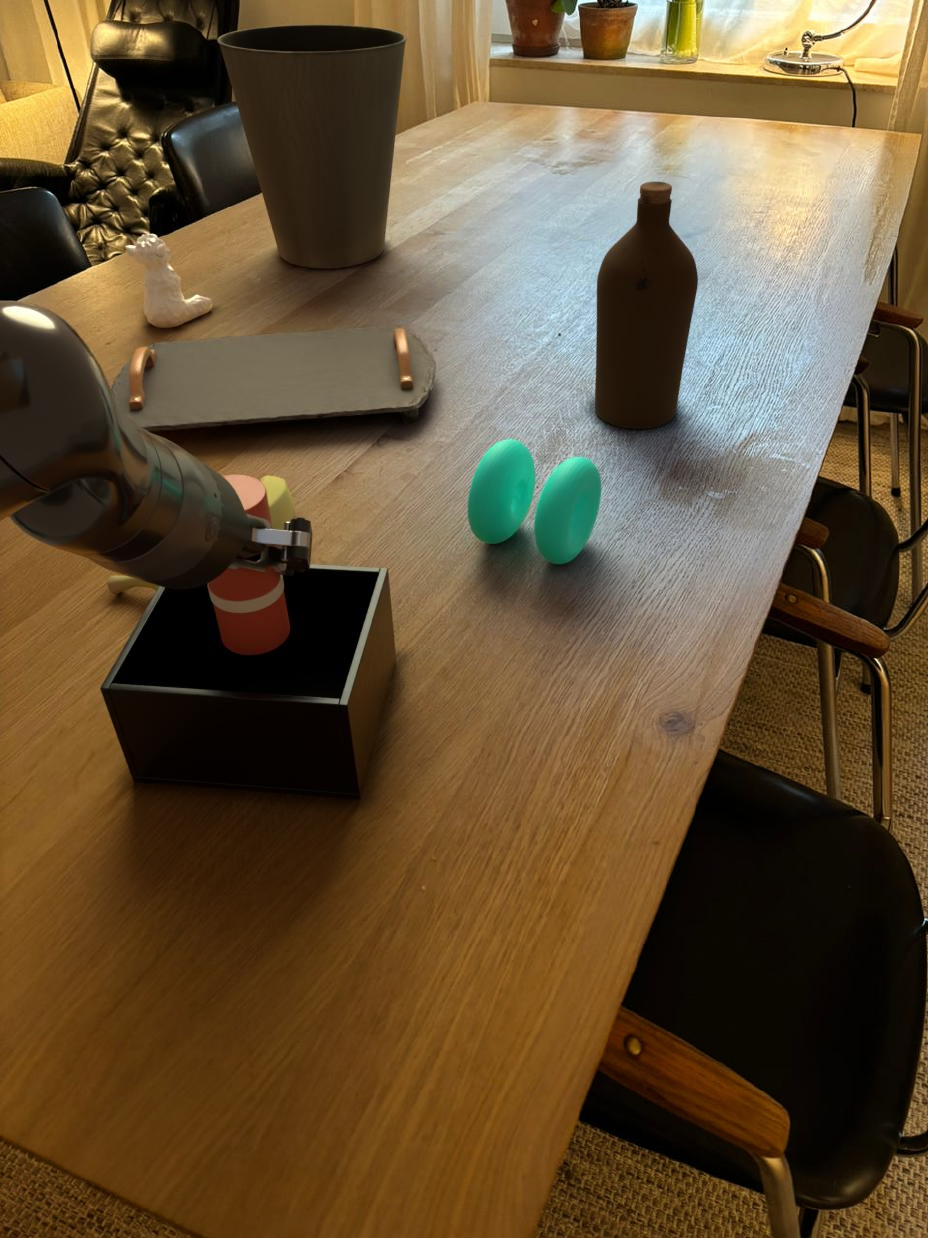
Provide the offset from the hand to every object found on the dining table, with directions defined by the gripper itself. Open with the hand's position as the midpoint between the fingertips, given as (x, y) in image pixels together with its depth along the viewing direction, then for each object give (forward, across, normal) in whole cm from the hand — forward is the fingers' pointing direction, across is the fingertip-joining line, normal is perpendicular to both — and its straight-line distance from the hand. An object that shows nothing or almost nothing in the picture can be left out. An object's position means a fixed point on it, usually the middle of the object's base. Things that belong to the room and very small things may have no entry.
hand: (251, 559), depth 71 cm
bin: (+9, 0, +11) cm, 14 cm away
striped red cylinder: (+2, 0, +5) cm, 6 cm away
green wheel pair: (+26, -19, -6) cm, 33 cm away
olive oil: (+46, -29, -26) cm, 60 cm away
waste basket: (+82, +18, -62) cm, 104 cm away
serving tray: (+47, +14, -27) cm, 56 cm away
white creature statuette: (+62, +35, -42) cm, 82 cm away
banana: (+24, +12, -4) cm, 27 cm away
